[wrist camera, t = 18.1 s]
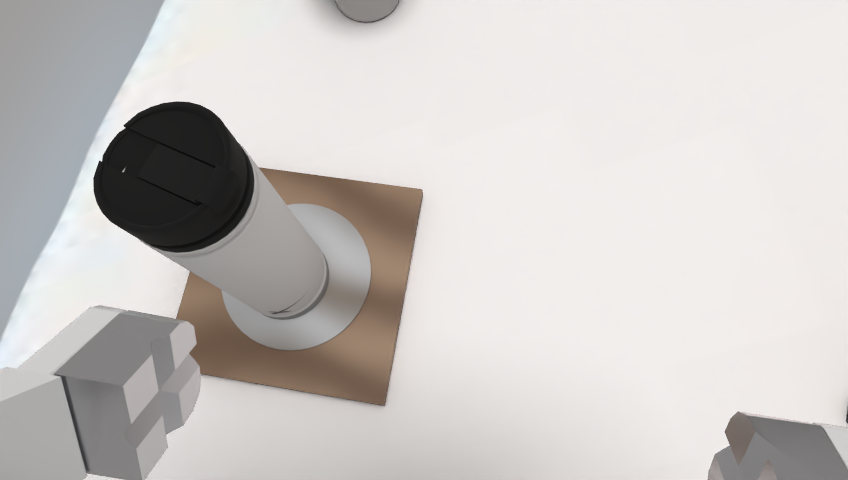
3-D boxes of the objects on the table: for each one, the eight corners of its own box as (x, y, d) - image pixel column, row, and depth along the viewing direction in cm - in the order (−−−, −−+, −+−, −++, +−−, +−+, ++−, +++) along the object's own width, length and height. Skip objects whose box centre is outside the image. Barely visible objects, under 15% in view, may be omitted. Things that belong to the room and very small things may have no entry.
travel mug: (307, 337, 42) (183, 259, 23) (229, 298, 43) (48, 192, 24) (349, 259, 43) (264, 125, 24) (272, 224, 45) (134, 70, 26)
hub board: (384, 405, 41) (382, 404, 40) (168, 368, 43) (160, 366, 42) (422, 194, 46) (421, 187, 45) (226, 167, 48) (220, 160, 46)
